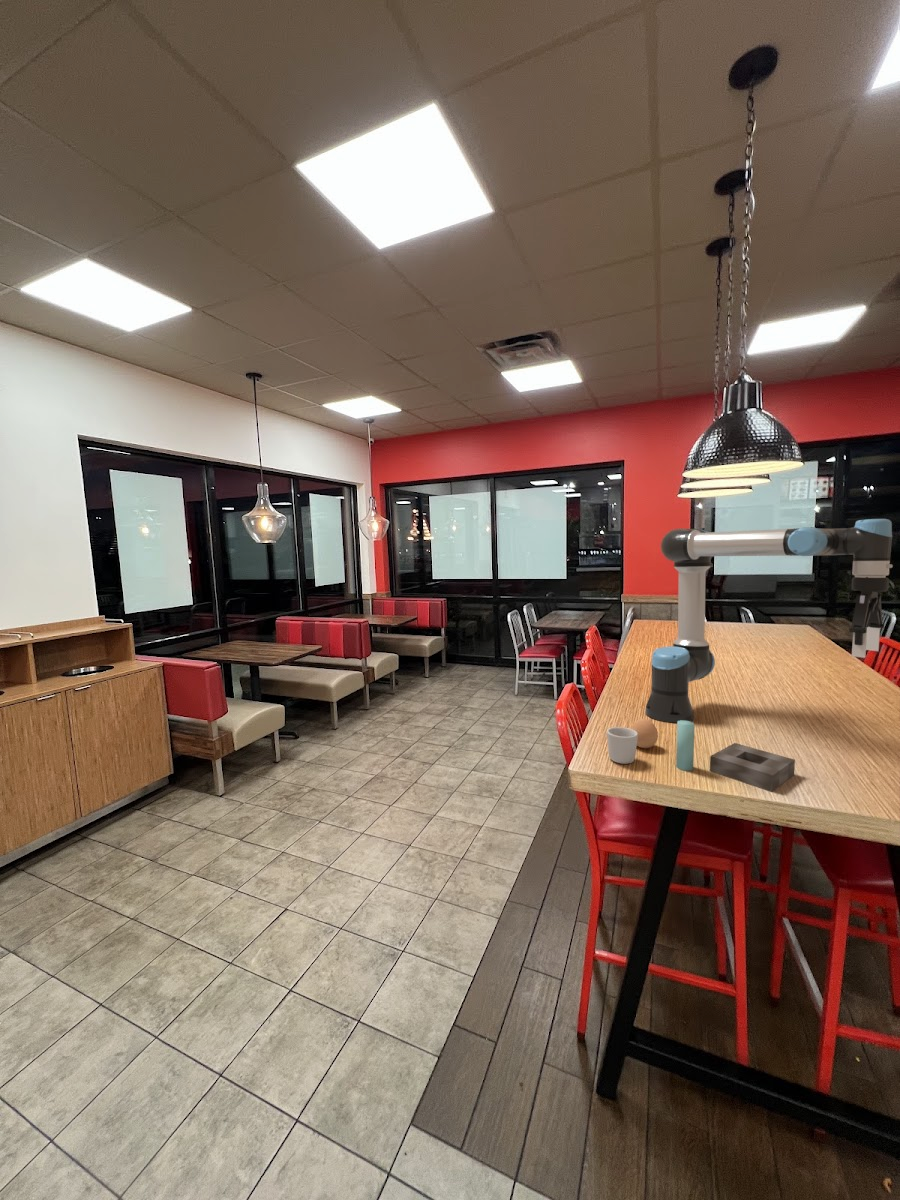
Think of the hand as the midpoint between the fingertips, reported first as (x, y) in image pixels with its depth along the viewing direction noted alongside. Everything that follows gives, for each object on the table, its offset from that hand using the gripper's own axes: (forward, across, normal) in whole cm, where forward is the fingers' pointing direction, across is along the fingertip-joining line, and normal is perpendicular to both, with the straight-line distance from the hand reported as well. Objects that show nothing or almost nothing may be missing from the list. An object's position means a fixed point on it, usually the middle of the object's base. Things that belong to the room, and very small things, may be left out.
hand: (865, 653), depth 131 cm
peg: (+28, -48, +25) cm, 61 cm away
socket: (+28, -38, +13) cm, 49 cm away
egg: (+28, -44, +39) cm, 65 cm away
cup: (+28, -56, +39) cm, 74 cm away
